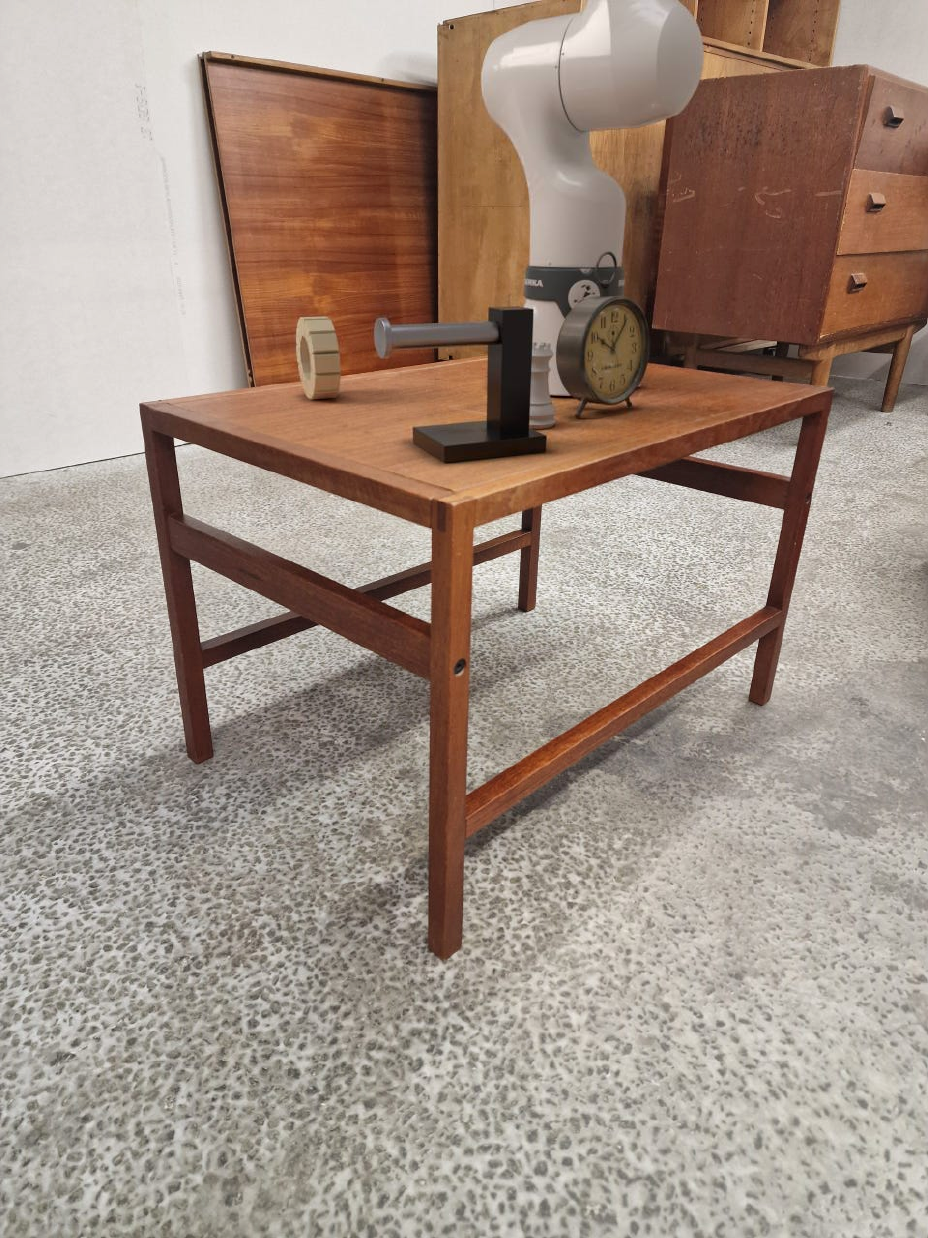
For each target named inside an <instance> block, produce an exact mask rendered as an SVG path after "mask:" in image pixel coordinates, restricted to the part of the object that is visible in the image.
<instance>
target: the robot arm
mask: <svg viewBox="0 0 928 1238" xmlns="http://www.w3.org/2000/svg"><path fill="white" fill-rule="evenodd" d="M701 32H702V31H701V30H700V27H699V25H698V22H697V20H696V19H695V17H694V15H693V14H692V13H691V12H690V10H689V9H688V8H687V7H686V6H685V5H684V4H683V3H682V2H680V1H679V0H587V2H586V5H585V7H584V8H583V10H582V11H579V12H574V13H569V14H563V15H557V16H552V17H545V18H541V19H539V18H538V19H534V20H529V21H528V22H526V23H523V24H521V25H519V26H516V27H514V28H512V29H510V30H509V31H506V32H505V33H502V34H501V35H499V36H497V37H496V38H495V39H494V40H493V41H492V42H491V43H490V45H489V46H488V48H487V51H486V54H485V56H484V59H483V62H482V68H481V75H480V88H481V96H482V100H483V104H484V106H485V109H486V112H487V113H488V115H489V117H490V119H491V120H492V122H493V123H494V124H495V125H496V126H497V127H498V128H499V129H500V130H501V131H502V132H503V133H504V134H505V136H506V137H507V138H508V139H509V141H510V142H511V144H512V145H513V147H514V150H515V151H516V154H517V157H518V158H519V160H520V164H521V166H522V169H523V173H524V177H525V181H526V186H527V192H528V193H527V194H528V202H529V203H528V204H529V206H528V207H529V253H528V254H529V255H528V256H529V257H528V265H527V266H526V267H525V273H524V277H523V294H522V295H523V297H524V298H525V300H524V302H523V306H522V307H525V308H531V309H534V315H533V341H532V342H537V346H539V345H540V343H541V342H545V343H550V344H551V345H550V349H551V350H552V352H553V353H554V355H553V356H552V358H551V359H550V360H549V368H550V369H551V370H550V372H549V376H548V382H549V393H550V396H562V397H563V396H565V397H566V396H567V397H570V396H571V395H570V394H569V393H568V392H567V390H566V389H565V388H564V386H563V384H562V382H561V380H560V377H559V374H558V370H557V365H556V345H557V340H558V335H559V332H560V329H561V326H562V324H563V322H564V320H565V318H566V316H567V315H568V314H569V312H570V311H571V310H572V309H573V308H574V307H575V306H576V305H577V304H578V303H579V302H581V301H583V300H584V299H587V298H590V297H595V296H600V293H601V286H600V284H599V283H598V281H597V279H596V276H595V267H596V263H597V260H598V258H599V256H600V255H601V254H602V253H603V252H605V251H611V252H612V253H613V254H614V255H615V257H616V261H617V270H616V275H615V278H614V280H613V281H612V282H611V283H610V285H609V287H608V289H609V296H624V290H625V289H624V288H625V286H626V278H625V274H626V273H625V271H626V270H625V269H626V268H624V267H623V266H622V263H623V253H624V252H623V250H624V241H625V240H624V239H625V229H626V228H625V227H626V215H627V206H628V205H627V199H626V195H625V193H624V190H623V188H622V186H621V185H620V183H619V182H618V181H617V180H616V179H615V178H614V177H612V176H611V175H610V174H609V173H607V172H606V171H605V170H602V169H600V168H599V167H598V166H597V164H596V162H595V160H594V158H593V154H592V150H591V141H590V136H591V132H603V131H613V130H627V129H639V128H642V127H647V126H648V125H652V124H655V123H658V122H661V121H664V120H667V119H670V118H672V117H675V116H678V115H680V114H681V113H682V112H683V111H684V110H685V108H686V107H687V106H688V105H689V104H690V101H691V100H692V98H693V97H694V96H695V93H696V91H697V88H698V87H699V83H700V81H701V77H702V74H703V68H704V61H705V59H704V58H705V57H704V56H705V53H704V52H705V50H704V49H705V48H704V41H703V37H702V33H701ZM613 272H614V262H613V259H612V257H611V256H610V255H609V254H606V255H604V256H603V257H602V259H601V261H600V263H599V267H598V277H599V280H600V281H603V280H608V281H610V279H611V278H612V276H613ZM641 386H642V381H641V382H640V384H639V386H638V387H639V388H640V387H641ZM638 387H637V388H638ZM571 397H572V396H571Z"/></svg>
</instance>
